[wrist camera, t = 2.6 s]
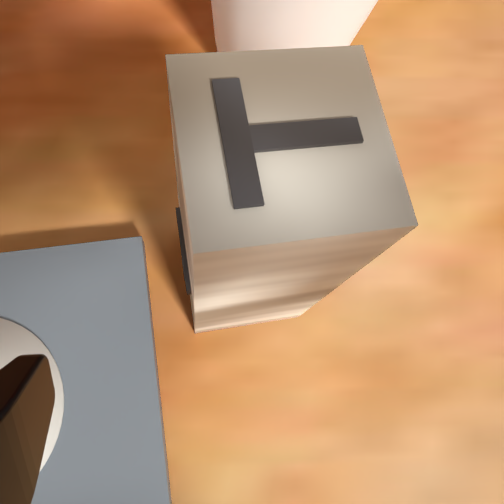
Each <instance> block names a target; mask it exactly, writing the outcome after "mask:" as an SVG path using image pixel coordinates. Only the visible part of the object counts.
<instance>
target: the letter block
mask: <svg viewBox="0 0 504 504" xmlns="http://www.w3.org/2000/svg"><path fill="white" fill-rule="evenodd" d="M165 57H166V69H167V80H168V91H169V102H170V113H171V124H172V135H173V146H174V157H175V168H176V179H177V190H178V201H179V207H178V208H176V215H177V223H178V230H179V238H180V245H181V255H182V264H183V273H184V280H185V283H186V291H187V295H189V294H190V301H191V308H192V316H193V323H194V331H195V333H201V332H207V331H213V330H220V329H226V328H232V327H238V326H245V325H251V324H257V323H264V322H270V321H276V320H283V319H289V318H295V317H299V316H300V315H301V314H303V313H304V312H305V311H307V310H308V309H309V308H311V307H312V306H313V305H314V304H316V303H317V302H318V301H320V300H321V299H322V298H324V297H325V296H326V295H328V294H329V293H330V292H332V291H333V290H334V289H335V288H337V287H338V286H339V285H341V284H342V283H343V282H345V281H346V280H347V279H349V278H350V277H351V276H352V275H354V274H355V273H356V272H358V271H359V270H360V269H362V268H363V267H364V266H366V265H367V264H368V263H370V262H371V261H372V260H373V259H375V258H376V257H377V256H379V255H380V254H381V253H383V252H384V251H385V250H387V249H388V248H389V247H390V246H392V245H393V244H394V243H396V242H397V241H398V240H400V239H401V238H402V237H404V236H405V235H406V234H408V233H409V232H410V231H411V230H413V229H414V228H415V227H417V226H418V223H417V219H416V216H415V213H414V210H413V206H412V203H411V200H410V197H409V194H408V190H407V187H406V184H405V181H404V177H403V174H402V171H401V168H400V164H399V161H398V158H397V155H396V151H395V148H394V145H393V142H392V138H391V135H390V132H389V129H388V125H387V122H386V119H385V116H384V113H383V109H382V106H381V103H380V100H379V96H378V93H377V90H376V87H375V83H374V80H373V77H372V74H371V70H370V67H369V64H368V61H367V57H366V54H365V51H364V48H363V45H355V46H334V47H313V48H292V49H271V50H251V51H230V52H209V53H188V54H167V55H165Z"/></svg>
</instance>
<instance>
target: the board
mask: <svg viewBox="0 0 504 504" xmlns="http://www.w3.org/2000/svg"><path fill="white" fill-rule="evenodd" d="M27 354H44V355H45V356H47V358H48V360H49V364H50V369H51V374H52V379H53V384H54V388H55V403H54V408H53V413H52V417H51V422H50V426H49V431H48V435H47V440H46V444H45V449H44V453H43V458H42V462H41V467H40V471H39V476H38V480H37V484H36V488H35V492H34V496H33V499H32V502H31V504H172V501H171V492H170V482H169V473H168V463H167V454H166V444H165V435H164V426H163V416H162V407H161V397H160V388H159V378H158V369H157V359H156V350H155V341H154V331H153V322H152V312H151V303H150V293H149V284H148V275H147V265H146V256H145V246H144V242H143V239H142V236H139V237H131V238H122V239H114V240H105V241H97V242H88V243H80V244H71V245H63V246H54V247H46V248H37V249H29V250H20V251H12V252H3V253H0V369H1V368H3V367H4V366H5V365H7V364H8V363H9V362H11V361H12V360H13V359H15V358H16V357H18V356H20V355H27Z"/></svg>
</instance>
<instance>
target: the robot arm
mask: <svg viewBox="0 0 504 504" xmlns="http://www.w3.org/2000/svg"><path fill="white" fill-rule="evenodd" d="M54 403H55V388H54V384H53V379H52V374H51V369H50V364H49V360H48V358H47V356H45V355H44V354H27V355H20V356H18V357H16V358H15V359H13V360H12V361H11V362H9V363H8V364H7V365H5V366H4V367H3V368H1V369H0V504H31V502H32V499H33V496H34V492H35V488H36V484H37V480H38V476H39V471H40V467H41V462H42V458H43V453H44V449H45V444H46V440H47V435H48V431H49V426H50V422H51V417H52V413H53V408H54Z"/></svg>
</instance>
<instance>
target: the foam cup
mask: <svg viewBox="0 0 504 504" xmlns="http://www.w3.org/2000/svg"><path fill="white" fill-rule="evenodd" d="M377 1H378V0H211V5H212V14H213V23H214V33H215V42H216V46H217V52H230V51H251V50H271V49H292V48H313V47H334V46H349V45H350V44H351V42H352V41H353V39H354V37H355V36H356V34H357V33H358V31H359V30H360V28H361V26H362V25H363V23H364V22H365V20H366V19H367V17H368V15H369V14H370V12H371V11H372V9H373V8H374V6H375V4H376V3H377Z"/></svg>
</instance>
